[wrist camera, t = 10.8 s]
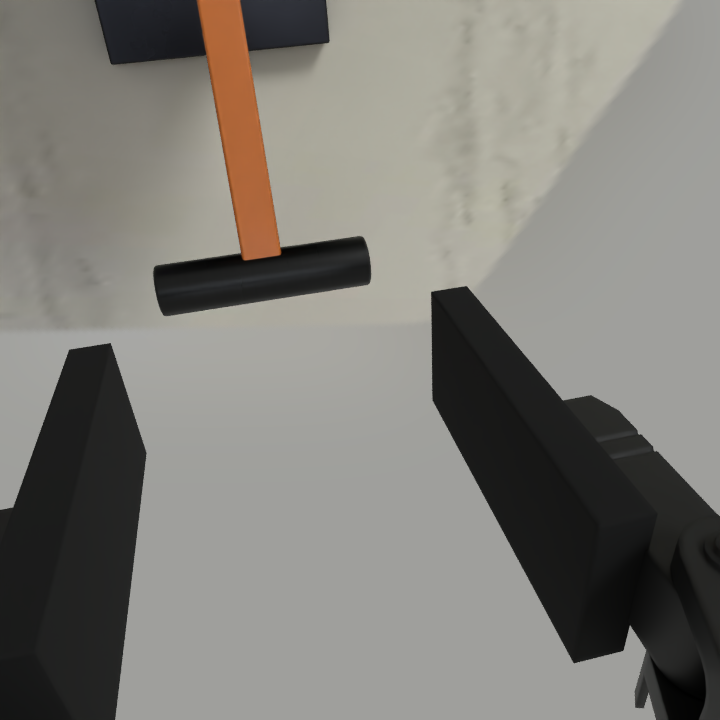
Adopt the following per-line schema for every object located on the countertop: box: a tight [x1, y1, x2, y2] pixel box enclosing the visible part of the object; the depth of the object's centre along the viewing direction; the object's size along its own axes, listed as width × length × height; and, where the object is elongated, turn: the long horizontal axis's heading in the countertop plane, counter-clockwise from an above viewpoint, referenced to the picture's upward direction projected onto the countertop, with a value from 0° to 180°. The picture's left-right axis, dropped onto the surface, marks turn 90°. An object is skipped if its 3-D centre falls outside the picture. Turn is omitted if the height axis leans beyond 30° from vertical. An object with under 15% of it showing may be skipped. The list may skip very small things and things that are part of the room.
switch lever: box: [153, 0, 371, 316], centre depth 17 cm, size 13×6×2 cm, turn 4°
